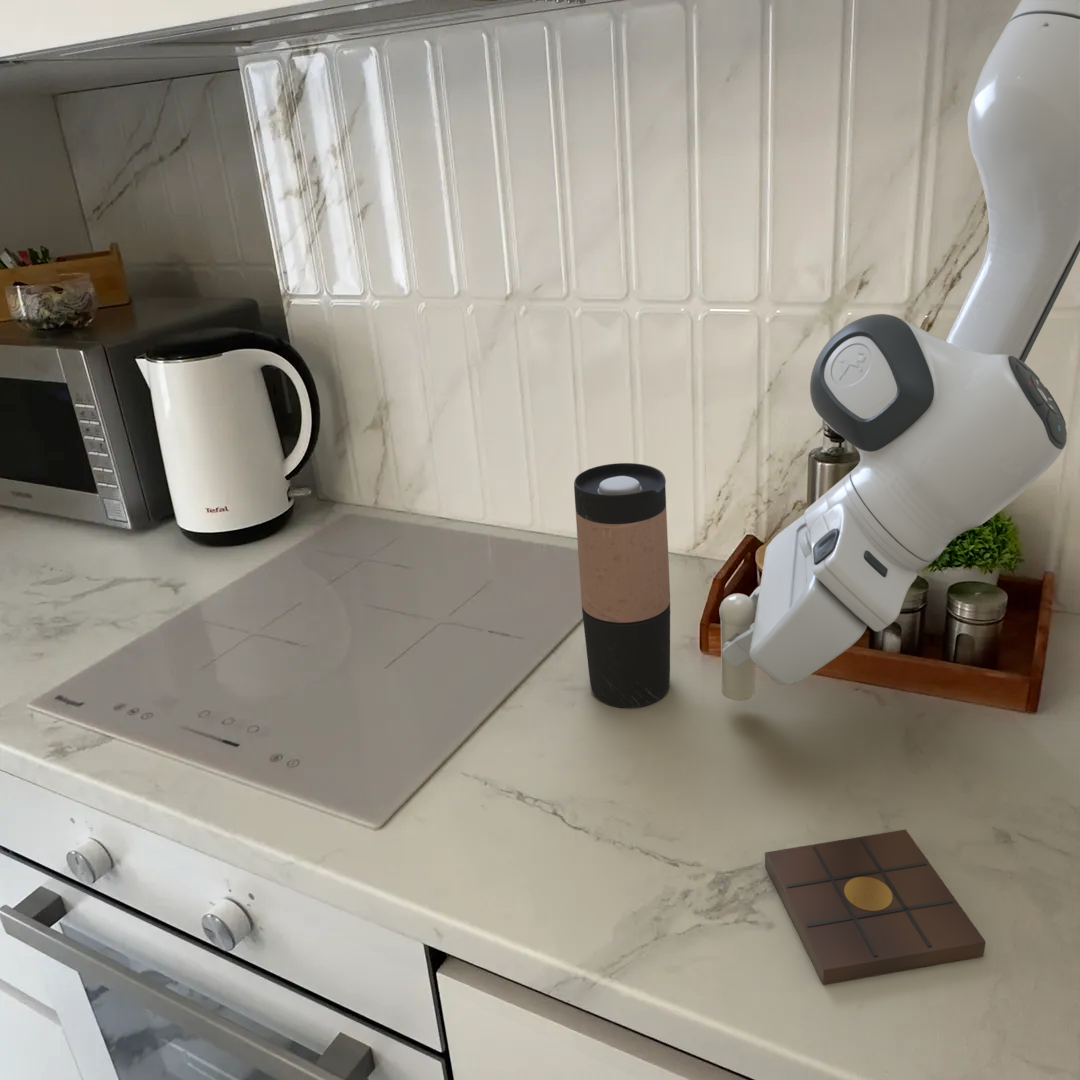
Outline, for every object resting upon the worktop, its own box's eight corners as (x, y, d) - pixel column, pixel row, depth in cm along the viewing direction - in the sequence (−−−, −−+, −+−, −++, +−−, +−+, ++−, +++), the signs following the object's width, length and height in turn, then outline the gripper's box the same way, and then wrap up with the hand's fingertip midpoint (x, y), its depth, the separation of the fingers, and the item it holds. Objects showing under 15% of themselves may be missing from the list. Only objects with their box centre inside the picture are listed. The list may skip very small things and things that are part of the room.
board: (904, 842, 67) (905, 828, 67) (983, 956, 58) (986, 940, 58) (764, 865, 66) (764, 851, 66) (823, 985, 57) (823, 969, 57)
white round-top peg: (749, 679, 83) (749, 584, 80) (761, 698, 81) (762, 601, 77) (715, 684, 83) (714, 589, 79) (726, 703, 80) (725, 606, 77)
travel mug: (576, 674, 90) (560, 472, 82) (652, 656, 92) (644, 456, 84) (605, 718, 84) (591, 502, 75) (687, 697, 85) (681, 484, 77)
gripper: (832, 464, 82) (716, 563, 89) (830, 570, 65) (686, 684, 71) (885, 514, 83) (766, 609, 90) (897, 633, 65) (748, 741, 72)
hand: (730, 644), depth 80 cm, fingers closed on white round-top peg, 3 cm apart
